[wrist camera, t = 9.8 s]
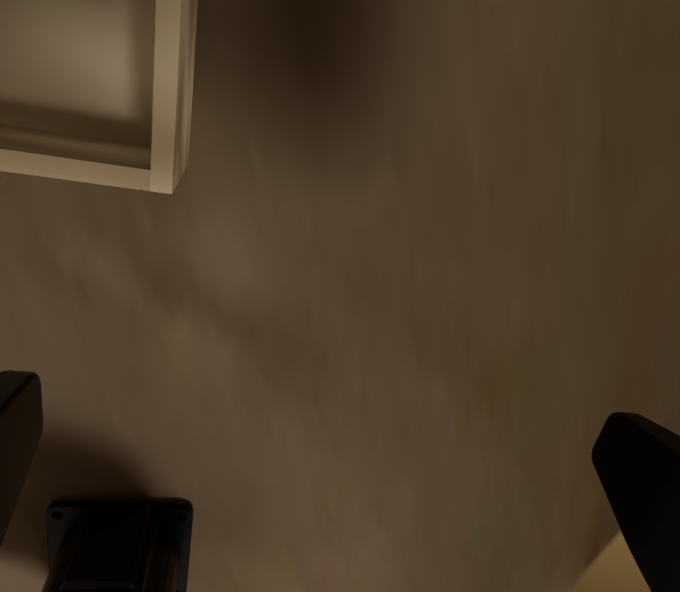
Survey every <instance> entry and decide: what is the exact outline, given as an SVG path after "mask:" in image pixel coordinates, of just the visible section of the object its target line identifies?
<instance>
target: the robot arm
mask: <svg viewBox="0 0 680 592" xmlns="http://www.w3.org/2000/svg"><path fill="white" fill-rule="evenodd" d="M42 428H43V410H42V395H41V382H40V378H39V376H38V375H37V374H36V373H35V372H25V371H11V370H6V371H2V372H0V545H1V543H2V541H3V539H4V536H5V534H6V531H7V528H8V526H9V523H10V520H11V518H12V515H13V512H14V509H15V507H16V504H17V501H18V498H19V495H20V493H21V490H22V487H23V484H24V482H25V479H26V476H27V473H28V470H29V468H30V465H31V462H32V459H33V457H34V454H35V451H36V448H37V445H38V443H39V440H40V437H41V433H42ZM592 461H593V465H594V467H595V469H596V472H597V474H598V477H599V479H600V481H601V484H602V486H603V489H604V491H605V493H606V496H607V498H608V501H609V503H610V505H611V508H612V510H613V512H614V515H615V517H616V520H617V522H618V524H619V527H620V529H621V532H622V534H623V536H624V538H625V541H626V543H627V545H628V547H629V549H630V551H631V553H632V555H633V557H634V559H635V561H636V563H637V565H638V567H639V569H640V571H641V573H642V575H643V577H644V579H645V581H646V582H647V584H648V586H649V588H650V590H651V592H680V436H679V435H677V434H675V433H673V432H672V431H670V430H668V429H666V428H664V427H662V426H660V425H658V424H656V423H655V422H653V421H651V420H649V419H647V418H645V417H643V416H641V415H639V414H636V413H625V412H615V413H612V414H611V415H610V416H609V417H608V418H607V420H606V422H605V424H604V426H603V428H602V430H601V432H600V434H599V436H598V438H597V440H596V442H595V444H594V447H593V449H592ZM57 511H59V512H57ZM181 514H185V515H181ZM192 523H193V508H192V507H191V506H190V505H188V504H184V503H147V502H107V501H66V500H58V501H54V502H52V503H51V504H50V505H49V507H48V509H47V511H46V528H47V542H48V556H49V574H48V576H47V579H46V581H45V584H44V587H43V589H42V592H186V589H187V579H188V567H189V556H190V545H191V534H192Z"/></svg>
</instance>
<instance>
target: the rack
mask: <svg viewBox="0 0 680 592" xmlns="http://www.w3.org/2000/svg"><path fill="white" fill-rule="evenodd" d="M197 13H198V0H0V171H5V172H13V173H20V174H28V175H35V176H42V177H50V178H57V179H64V180H72V181H79V182H86V183H94V184H101V185H109V186H116V187H123V188H131V189H138V190H145V191H153V192H160V193H167V194H172V193H173V191H174V189H175V187H176V186H177V184H178V182H179V180H180V178H181V176H182V174H183V172H184V171H185V169H186V167H187V165H188V161H189V145H190V128H191V112H192V95H193V79H194V63H195V46H196V30H197Z"/></svg>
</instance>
